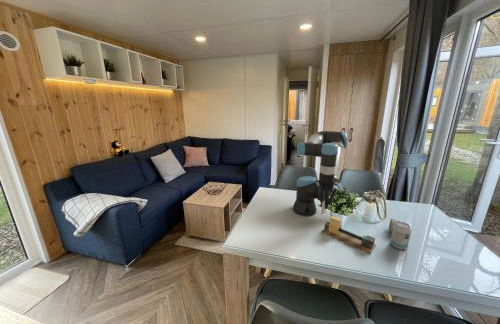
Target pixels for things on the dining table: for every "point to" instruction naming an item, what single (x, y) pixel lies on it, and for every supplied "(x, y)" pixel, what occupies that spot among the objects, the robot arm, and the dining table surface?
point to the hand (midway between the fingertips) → (323, 212)
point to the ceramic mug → (393, 224)
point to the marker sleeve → (334, 225)
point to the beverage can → (400, 235)
